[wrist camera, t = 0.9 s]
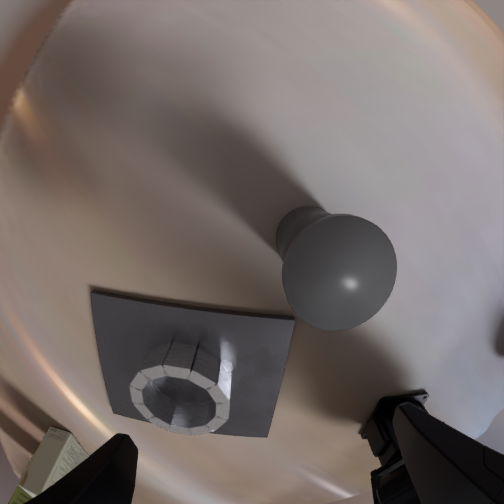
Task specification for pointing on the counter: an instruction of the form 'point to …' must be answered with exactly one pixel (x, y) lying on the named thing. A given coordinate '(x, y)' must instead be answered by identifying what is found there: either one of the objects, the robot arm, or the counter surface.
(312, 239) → the plug
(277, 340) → the barrel stand
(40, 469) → the skincare box
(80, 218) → the counter surface
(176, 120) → the counter surface
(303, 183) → the counter surface
